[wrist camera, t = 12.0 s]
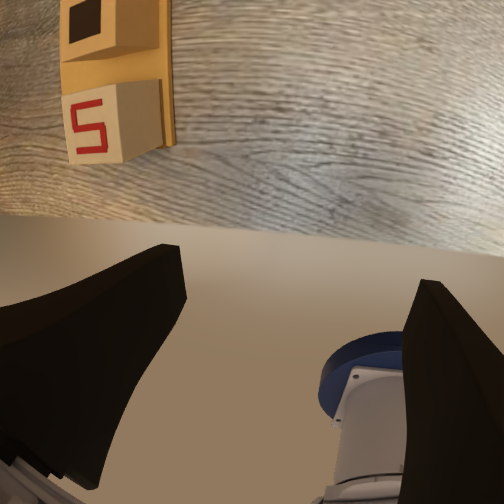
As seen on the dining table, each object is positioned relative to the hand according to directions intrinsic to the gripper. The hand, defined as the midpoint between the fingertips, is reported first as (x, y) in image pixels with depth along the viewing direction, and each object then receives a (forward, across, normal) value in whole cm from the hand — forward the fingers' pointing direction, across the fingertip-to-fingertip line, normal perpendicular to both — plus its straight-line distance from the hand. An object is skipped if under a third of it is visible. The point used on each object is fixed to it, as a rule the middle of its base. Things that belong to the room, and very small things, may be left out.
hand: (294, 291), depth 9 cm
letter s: (+9, +11, -4) cm, 15 cm away
